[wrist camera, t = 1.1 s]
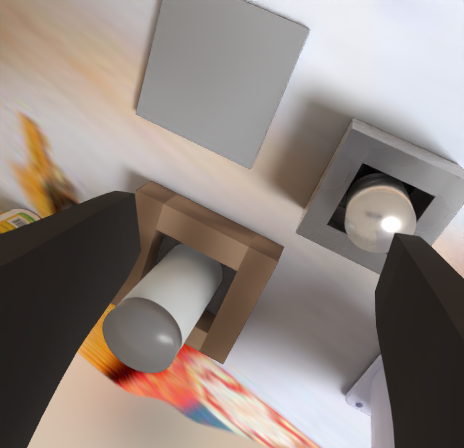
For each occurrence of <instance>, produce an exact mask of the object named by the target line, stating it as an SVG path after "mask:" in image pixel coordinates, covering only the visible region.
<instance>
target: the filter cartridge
mask: <svg viewBox="0 0 464 448" xmlns="http://www.w3.org/2000/svg"><path fill="white" fill-rule="evenodd" d="M222 277H223V271H222V266H221V264H220V262H218V261H216V260H214V259H213V258H211V257H209V256H207V255H205V254H203V253H201V252H199V251H197V250H195V249H193V248H191V247H189V246H187V245H185V244H183V243H180V244H178V245H176V246H175V247H174V248H172V250H171V251H170V252H169V253H168V254H167V255H166V256H165V257H164V258H163V259H162V260H161V261H160V262H159V263H158V264H157V265H156V266H155V267H154V268H153V269H152V270H151V271H150V272H149V273H148V274H147V275H146V276H145V277H144V278H143V279H142V280H141V281H140V282H139V283H138V284H137V285H136V286H135V287H134V288H133V289H132V290H131V291H130V292H129V293H128V294H127V295H126V296H125V297H124V298H123V299H122V300H121V302H120V303H119V304H118V305H117V306H116V307H115V308H114V309H113V310H112V311H111V312H110V313H109V314H108V315H107V316H106V318H105V319H104V322H103V335H104V339H105V341H106V343H107V345H108V347H109V349H110V350H111V351H112V353H113V354H114V355H115V356H116V357H117V358H118V359H119V360H120V361H122V362H123V363H124V364H126V365H127V366H129V367H131V368H133V369H135V370H138V371H141V372H145V373H158V372H161V371H164V370H165V369H167V368H168V367H169V366H170V365H171V363H172V362H173V360H174V359H175V357H176V355H177V354H178V352H179V350H180V349H181V347H182V346H183V344H184V342H185V341H186V339H187V337H188V336H189V334H190V333H191V331H192V329H193V328H194V326H195V324H196V323H197V321H198V320H199V318H200V316H201V315H202V313H203V311H204V310H205V308H206V307H207V305H208V303H209V302H210V300H211V298H212V297H213V295H214V294H215V292H216V290H217V289H218V287H219V285H220V284H221V281H222Z"/></svg>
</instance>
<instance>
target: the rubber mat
mask: <svg viewBox="0 0 464 448" xmlns="http://www.w3.org/2000/svg"><path fill="white" fill-rule="evenodd" d="M309 32H310V29H308V28H306V27H304V26H301V25H299V24H297V23H294V22H292V21H290V20H287V19H285V18H283V17H280V16H278V15H276V14H273V13H271V12H269V11H266V10H264V9H262V8H259V7H257V6H255V5H252V4H250V3H248V2H245V1H243V0H162V4H161V8H160V13H159V17H158V21H157V25H156V30H155V34H154V38H153V43H152V47H151V51H150V55H149V60H148V64H147V68H146V72H145V77H144V81H143V85H142V90H141V94H140V98H139V102H138V107H137V111H136V115H138V116H140V117H142V118H144V119H146V120H148V121H150V122H153V123H155V124H157V125H159V126H161V127H163V128H165V129H167V130H169V131H171V132H173V133H175V134H177V135H180V136H182V137H184V138H186V139H188V140H190V141H192V142H194V143H196V144H198V145H200V146H202V147H205V148H207V149H209V150H211V151H213V152H215V153H217V154H219V155H221V156H223V157H225V158H227V159H229V160H232V161H234V162H236V163H238V164H240V165H242V166H244V167H246V168H248V169H251V168H252V166H253V164H254V162H255V159H256V157H257V155H258V152H259V150H260V147H261V145H262V143H263V140H264V138H265V136H266V133H267V131H268V129H269V126H270V124H271V121H272V119H273V117H274V114H275V112H276V110H277V107H278V105H279V103H280V100H281V98H282V96H283V93H284V91H285V88H286V86H287V84H288V81H289V79H290V77H291V74H292V72H293V70H294V67H295V65H296V62H297V60H298V58H299V55H300V53H301V51H302V48H303V46H304V44H305V41H306V39H307V37H308V34H309Z"/></svg>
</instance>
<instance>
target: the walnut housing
mask: <svg viewBox="0 0 464 448" xmlns="http://www.w3.org/2000/svg"><path fill="white" fill-rule="evenodd" d="M135 199H136V208H137V217H138V225H139V234H140V243H141V252H140V255H139V257H138V259H137V261H136V263H135V265H134V267H133V269H132V271H131V273H130V275H129V276H128V278H127V280H126V281H125V283H124V284H123V286H122V287H121V289H120V290H119V291H118V293H117V294H116V296H115V297H114V299H113V300H112V302H111V303H112V304H114V305H116V306H117V305H118V304H119V303H120V302H121V300H122V299H123V298H124V297H125V296H126V295H127V294H128V293H129V292H130V291H131V290H132V289H133V288H134V287H135V286H136V285H137V284H138V283H139V282H140V281H141V280H142V279H143V278H144V277H145V276H146V275H147V274H148V273H149V272H150V271H151V270H152V269H153V267H154V264H155V261H156V258H157V255H158V251H159V248H160V245H161V242H162V239H163V236H164V234H166V235H168V236H170V237H172V238H174V239H176V240H178V241H180V242H182V243H183V244H185V245H187V246H189V247H191V248H193V249H195V250H197V251H199V252H201V253H203V254H205V255H207V256H209V257H211V258H213V259H214V260H216V261H218V262H220V263H222V264H224V265H226V266H228V267H230V268H232V269H234V270H236V271H237V273H236V275H235V277H234V279H233V281H232V283H231V285H230V287H229V290H228V292H227V294H226V296H225V298H224V300H223V302H222V304H221V306H220V309H219V311H218V313H217V315H216V316H215V315H213V314H211V313H209V312H207V311H206V310H204V311H203V313H202V315H201V316H200V318H199V320H198V321H197V323H196V324H195V326H194V328H193V329H192V331H191V333H190V334H189V336H188V337H187V339H186V341H185V342H184V343H185V344H187V345H188V346H190V347H192V348H194V349H196V350H198V351H199V352H201V353H203V354H205V355H207V356H208V357H210V358H212V359H214V360H216V361H218V362H219V363H221V364H224V362H225V360H226V358H227V356H228V354H229V352H230V351H231V349H232V347H233V345H234V343H235V341H236V339H237V338H238V336H239V334H240V332H241V330H242V328H243V326H244V325H245V323H246V321H247V319H248V317H249V315H250V313H251V311H252V310H253V308H254V306H255V304H256V302H257V300H258V298H259V297H260V295H261V293H262V291H263V289H264V287H265V285H266V284H267V282H268V280H269V278H270V276H271V274H272V272H273V271H274V269H275V267H276V265H277V263H278V261H279V258H280V256H281V253H282V251H283V248H284V247H283V246H281V245H279V244H277V243H275V242H273V241H271V240H269V239H267V238H265V237H263V236H261V235H259V234H257V233H255V232H253V231H251V230H249V229H247V228H245V227H243V226H241V225H239V224H237V223H235V222H233V221H231V220H229V219H227V218H225V217H223V216H221V215H219V214H217V213H215V212H213V211H211V210H209V209H207V208H205V207H203V206H201V205H199V204H197V203H195V202H193V201H191V200H189V199H187V198H185V197H183V196H181V195H179V194H177V193H175V192H173V191H171V190H169V189H167V188H165V187H163V186H161V185H159V184H157V183H155V182H153V181H151V182H149V183H148V184H146V185H144V186H142V187H141V188H139V189H137V190H136V194H135Z"/></svg>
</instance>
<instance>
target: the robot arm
mask: <svg viewBox="0 0 464 448" xmlns="http://www.w3.org/2000/svg"><path fill="white" fill-rule="evenodd" d="M140 252H141V243H140V234H139V225H138V217H137V208H136V199H135V194H133V193H127V192H120V191H113V192H110V193H106V194H103V195H101V196H98V197H95V198H93V199H90V200H88V201H85V202H83V203H80V204H78V205H75V206H73V207H70V208H68V209H65V210H63V211H60V212H58V213H56V214H53V215H51V216H48V217H45V218H43V219H40V220H37V221H34V222H32V223H29V224H26V225H24V226H21V227H18V228H16V229H13V230H10V231H7V232H4V233H1V234H0V448H27V447H28V444H29V442H30V440H31V438H32V436H33V434H34V432H35V430H36V428H37V426H38V424H39V422H40V419H41V417H42V415H43V414H44V412H45V410H46V408H47V406H48V404H49V402H50V400H51V398H52V396H53V394H54V393H55V390H56V389H57V387H58V385H59V383H60V381H61V379H62V377H63V376H64V374H65V372H66V370H67V369H68V367H69V365H70V363H71V361H72V360H73V358H74V356H75V354H76V353H77V351H78V349H79V348H80V346H81V345H82V343H83V342H84V340H85V338H86V337H87V335H88V334H89V333H90V331H91V330H92V328H93V327H94V326H95V324H96V323H97V321H98V320H99V319H100V317H101V316H102V314H103V313H104V311H105V310H106V309H107V307H108V306H109V304H110V303H111V302H112V300H113V299H114V297H115V296H116V294H117V293H118V291H119V290H120V289H121V287H122V286H123V284H124V283H125V281H126V280H127V278H128V276H129V275H130V273H131V271H132V269H133V267H134V265H135V263H136V261H137V259H138V257H139V255H140ZM375 312H376V327H377V334H378V339H379V345H380V351H381V354H380V355H379V356H378V357H377V359H376V360H375V361H374V362H373V363H372V365H371V366H370V367H369V368H368V369H367V370H366V372H365V373H364V374H363V375H362V376H361V378H360V379H359V380H358V381H357V382H356V383H355V385H354V386H353V387H352V388H351V389H350V391H349V392H348V393H347V394H346V397H345V400H346V403H347V404H349V405H350V406H352V407H354V408H356V409H358V410H360V411H361V412H363V413H365V414H367V415H369V416H371V444H372V448H464V278H463V277H462V276H461V275H459V274H458V273H457V272H456V271H455V270H454V269H453V268H452V267H451V266H450V265H449V264H448V263H447V262H446V261H445V260H444V259H443V258H442V257H441V256H440V255H439V254H438V253H437V252H436V251H435V250H434V249H433V248H432V247H431V246H430V245H429V244H428V243H427V242H426V241H425V240H424V239H423V238H421V237H420V236H415V235H408V234H402V233H394V236H393V239H392V242H391V245H390V248H389V251H388V254H387V257H386V260H385V263H384V266H383V269H382V272H381V275H380V278H379V281H378V284H377V287H376V290H375ZM357 402H360V403H357Z"/></svg>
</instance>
